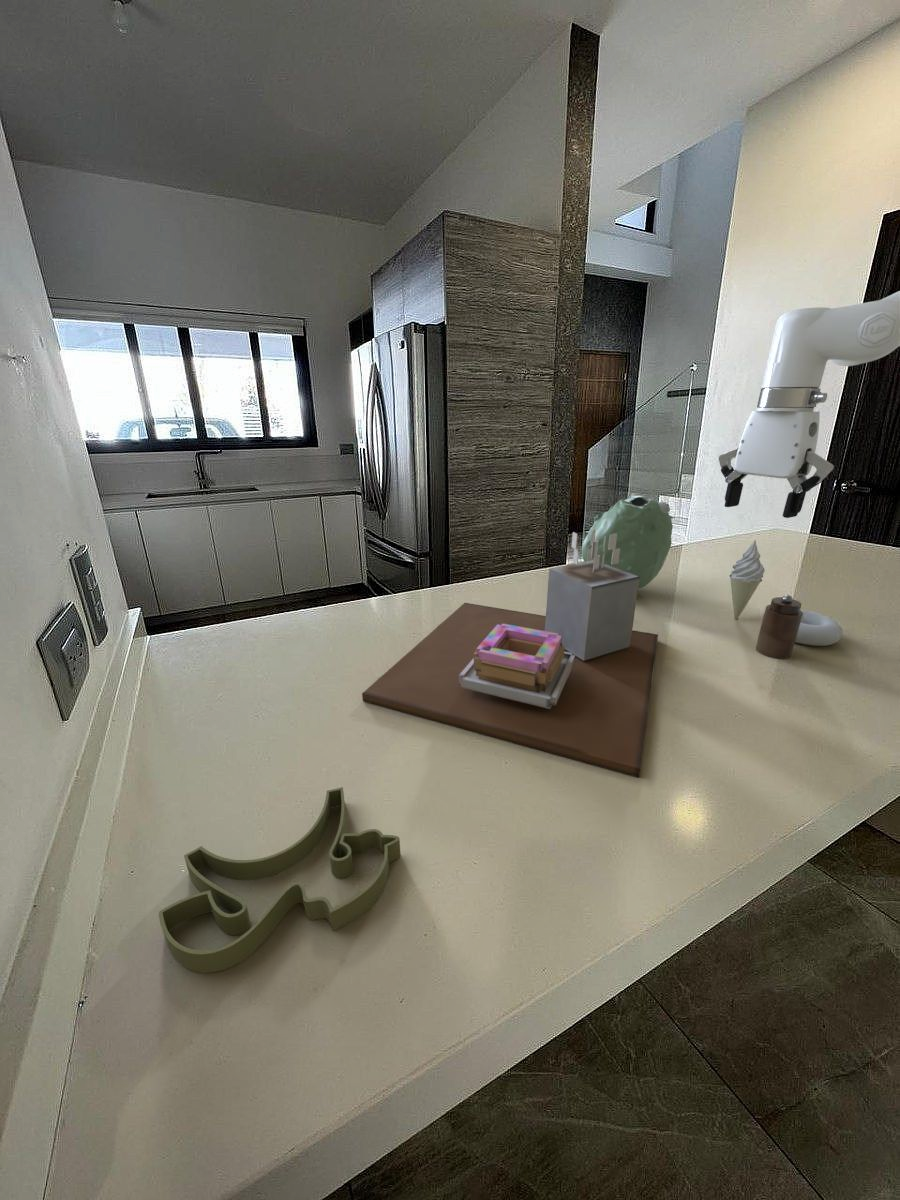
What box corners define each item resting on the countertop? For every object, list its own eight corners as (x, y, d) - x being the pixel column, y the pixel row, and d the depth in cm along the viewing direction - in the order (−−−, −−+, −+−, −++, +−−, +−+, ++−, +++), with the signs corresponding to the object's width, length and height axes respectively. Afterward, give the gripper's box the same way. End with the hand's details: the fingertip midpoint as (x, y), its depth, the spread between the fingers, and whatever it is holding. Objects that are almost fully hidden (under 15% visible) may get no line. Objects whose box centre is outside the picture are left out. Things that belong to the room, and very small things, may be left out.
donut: (779, 619, 88) (758, 634, 82) (784, 602, 87) (763, 615, 81) (846, 638, 81) (829, 655, 75) (852, 619, 79) (836, 635, 73)
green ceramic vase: (561, 587, 104) (569, 494, 97) (620, 572, 113) (631, 486, 106) (620, 611, 92) (634, 506, 84) (680, 591, 101) (697, 496, 94)
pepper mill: (787, 647, 77) (803, 592, 74) (793, 661, 73) (811, 603, 70) (753, 642, 79) (767, 588, 76) (757, 655, 75) (772, 598, 72)
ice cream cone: (757, 620, 87) (778, 540, 81) (741, 627, 85) (761, 544, 79) (730, 611, 91) (748, 534, 86) (714, 617, 89) (731, 538, 83)
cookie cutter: (360, 792, 49) (358, 777, 48) (418, 882, 40) (417, 864, 39) (160, 881, 40) (154, 864, 39) (174, 1024, 31) (166, 1005, 30)
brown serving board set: (638, 777, 51) (668, 612, 44) (362, 700, 64) (350, 565, 57) (656, 640, 80) (676, 528, 73) (464, 608, 94) (465, 511, 87)
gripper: (864, 401, 69) (828, 518, 75) (745, 401, 83) (723, 501, 89) (838, 401, 65) (802, 524, 72) (718, 401, 79) (698, 504, 86)
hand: (759, 511), depth 81 cm, fingers open, 9 cm apart
